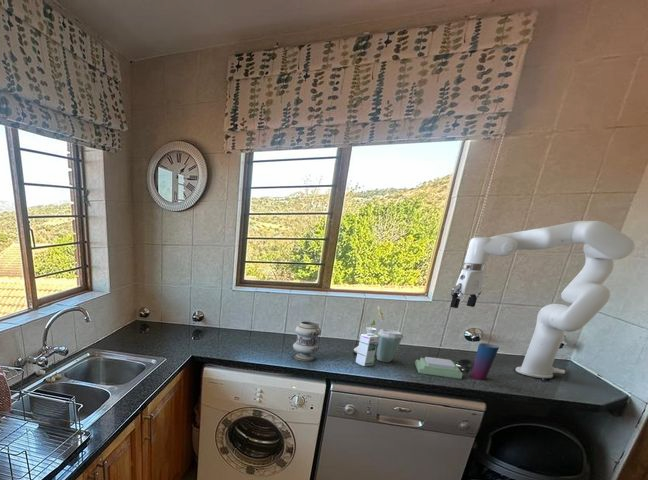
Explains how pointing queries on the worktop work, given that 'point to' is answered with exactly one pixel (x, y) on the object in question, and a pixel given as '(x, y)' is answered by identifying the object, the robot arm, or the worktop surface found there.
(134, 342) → the worktop surface
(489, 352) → the cup
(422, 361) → the scale
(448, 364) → the scale pan
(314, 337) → the apothecary jar
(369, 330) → the flower in vase
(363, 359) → the syrup box
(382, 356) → the disposable coffee cup
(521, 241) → the robot arm
